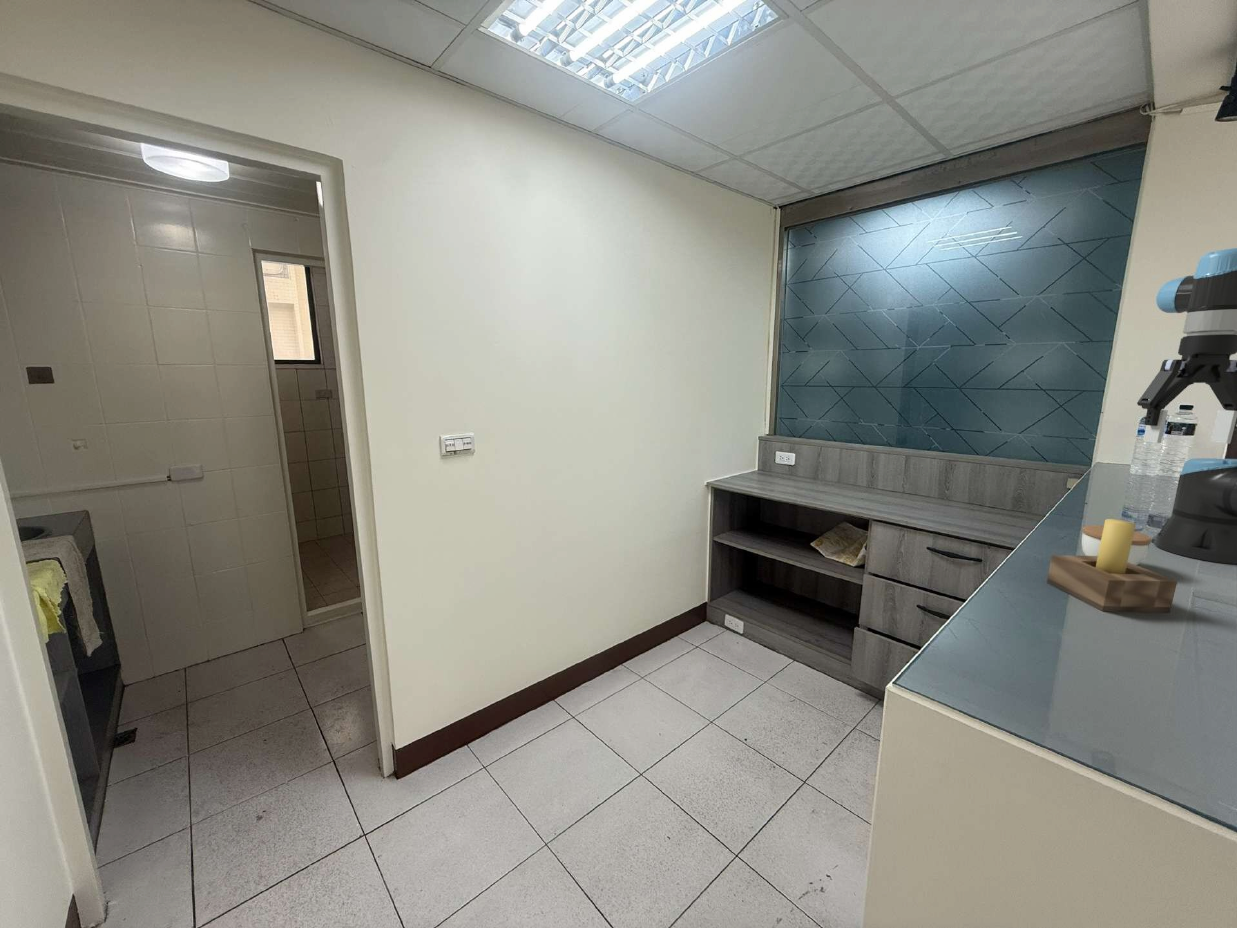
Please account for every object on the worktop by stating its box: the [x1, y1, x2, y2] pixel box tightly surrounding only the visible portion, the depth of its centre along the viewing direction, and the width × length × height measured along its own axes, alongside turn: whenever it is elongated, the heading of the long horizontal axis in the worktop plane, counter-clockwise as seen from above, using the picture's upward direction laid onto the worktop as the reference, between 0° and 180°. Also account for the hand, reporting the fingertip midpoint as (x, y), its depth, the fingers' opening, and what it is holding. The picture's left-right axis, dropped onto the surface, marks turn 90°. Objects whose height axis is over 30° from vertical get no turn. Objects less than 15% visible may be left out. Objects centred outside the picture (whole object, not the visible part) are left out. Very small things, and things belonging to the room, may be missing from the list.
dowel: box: [1095, 518, 1136, 574], centre depth 93 cm, size 4×4×14 cm
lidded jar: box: [1081, 524, 1152, 566], centre depth 109 cm, size 11×11×9 cm
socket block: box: [1046, 554, 1178, 613], centre depth 94 cm, size 12×12×6 cm
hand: (1185, 442), depth 99 cm, fingers open, 13 cm apart
